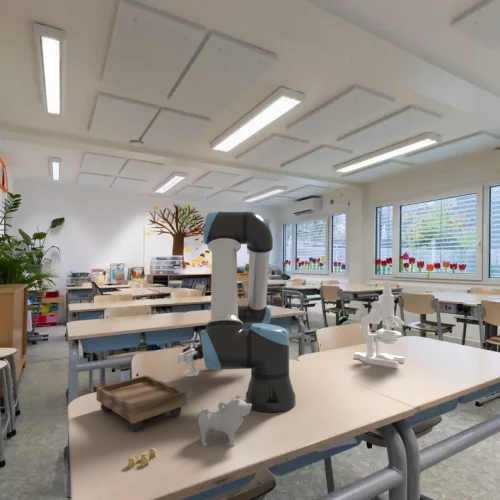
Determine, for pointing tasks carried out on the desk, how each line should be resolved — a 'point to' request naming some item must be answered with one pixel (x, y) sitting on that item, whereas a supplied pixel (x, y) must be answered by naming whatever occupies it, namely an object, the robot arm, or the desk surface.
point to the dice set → (144, 458)
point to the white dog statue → (223, 419)
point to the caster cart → (141, 399)
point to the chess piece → (191, 365)
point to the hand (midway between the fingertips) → (183, 359)
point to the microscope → (381, 330)
